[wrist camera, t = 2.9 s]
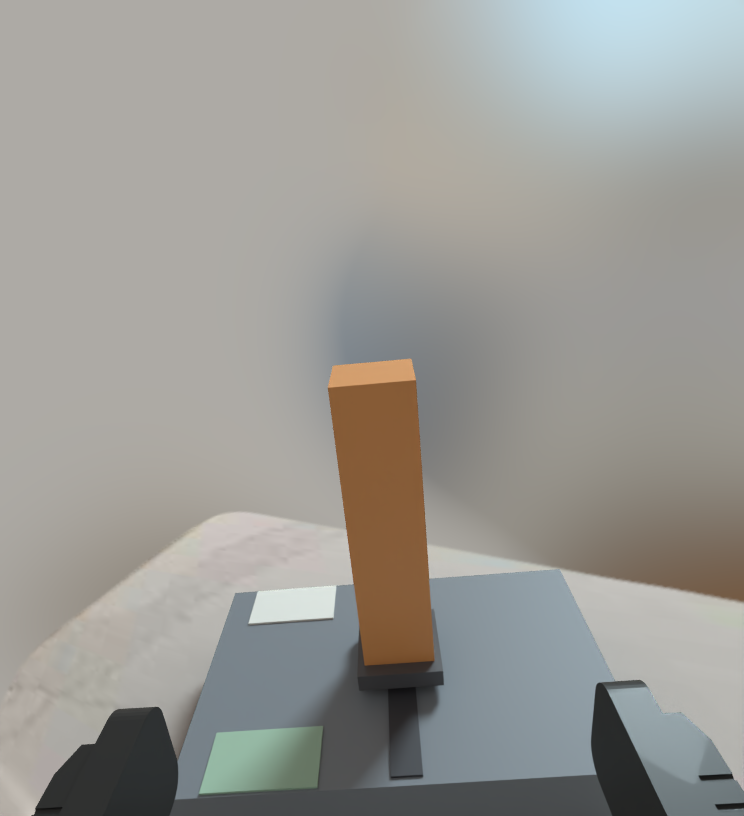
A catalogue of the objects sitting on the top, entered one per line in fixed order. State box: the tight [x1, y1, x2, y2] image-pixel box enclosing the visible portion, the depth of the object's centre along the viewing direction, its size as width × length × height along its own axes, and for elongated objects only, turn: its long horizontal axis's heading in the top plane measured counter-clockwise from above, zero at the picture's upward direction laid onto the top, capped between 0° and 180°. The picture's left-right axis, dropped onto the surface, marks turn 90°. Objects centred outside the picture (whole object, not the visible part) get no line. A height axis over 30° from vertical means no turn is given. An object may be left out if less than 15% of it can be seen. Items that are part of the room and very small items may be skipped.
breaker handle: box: [328, 359, 444, 691], centre depth 22 cm, size 4×4×14 cm
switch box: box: [170, 569, 615, 816], centre depth 25 cm, size 11×18×4 cm, turn 90°
